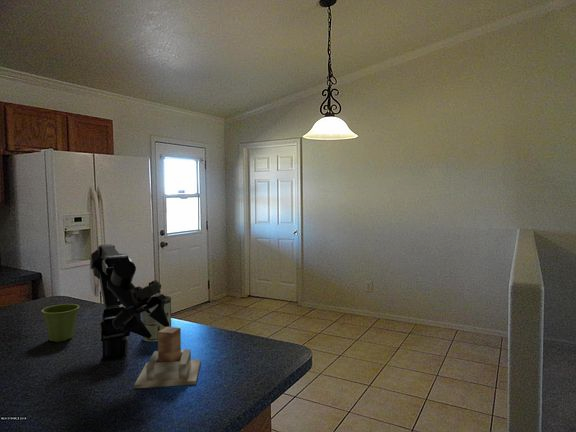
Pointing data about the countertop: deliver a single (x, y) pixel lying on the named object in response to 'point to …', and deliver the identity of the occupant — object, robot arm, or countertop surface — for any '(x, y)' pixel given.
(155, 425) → the countertop surface
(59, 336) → the plant pot
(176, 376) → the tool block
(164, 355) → the wooden peg
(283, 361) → the countertop surface
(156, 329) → the coffee can
